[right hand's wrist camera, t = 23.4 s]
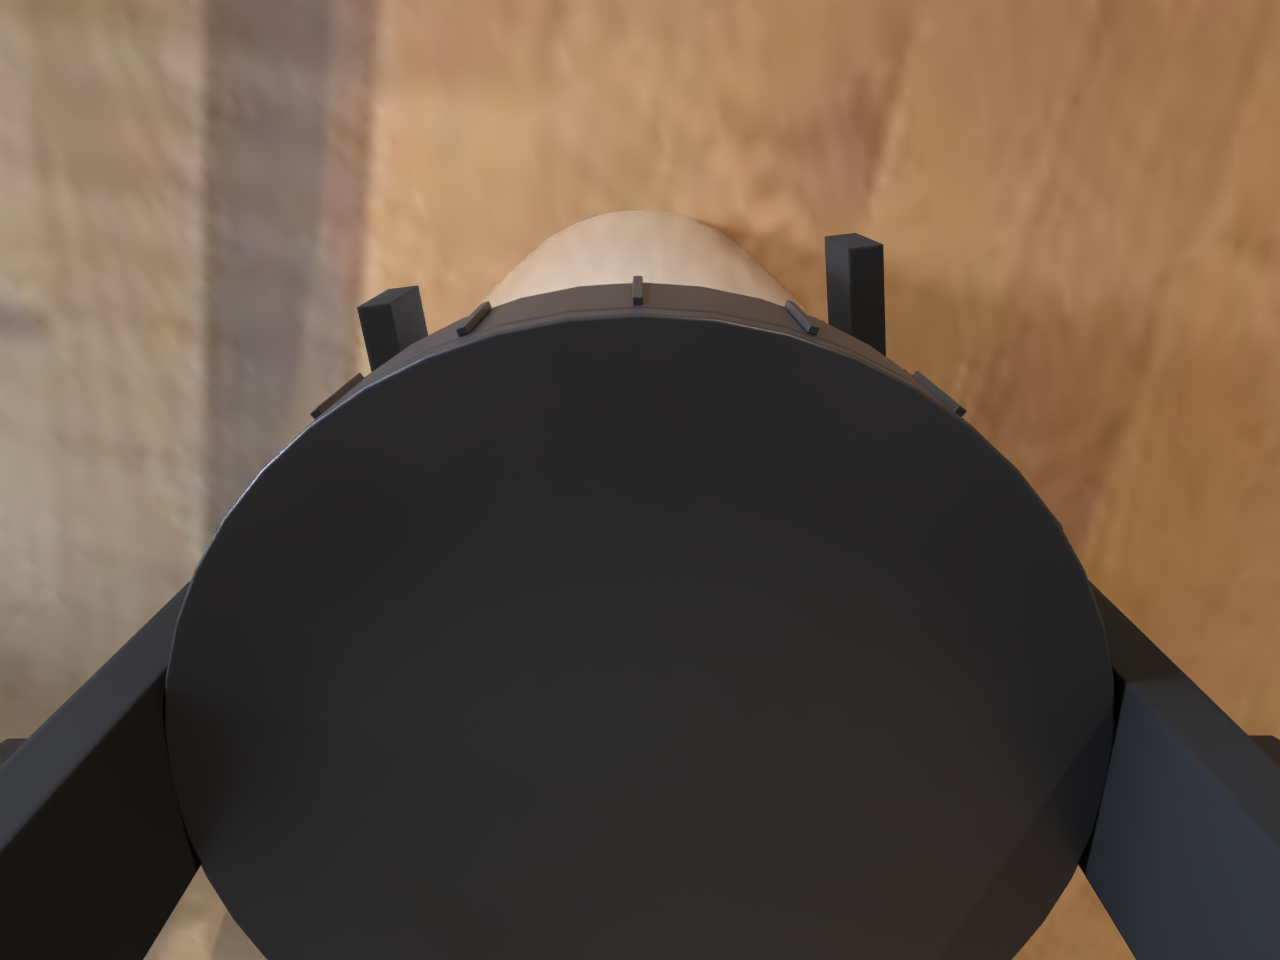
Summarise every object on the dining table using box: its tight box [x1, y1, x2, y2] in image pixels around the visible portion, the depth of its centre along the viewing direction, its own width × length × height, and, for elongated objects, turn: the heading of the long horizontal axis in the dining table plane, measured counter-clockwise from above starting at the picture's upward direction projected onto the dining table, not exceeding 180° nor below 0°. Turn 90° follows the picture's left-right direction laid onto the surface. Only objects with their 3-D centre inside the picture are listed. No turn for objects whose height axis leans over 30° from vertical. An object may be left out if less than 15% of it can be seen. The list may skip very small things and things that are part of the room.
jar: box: [466, 211, 813, 317], centre depth 20 cm, size 10×10×19 cm
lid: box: [165, 276, 1115, 960], centre depth 12 cm, size 11×11×2 cm
